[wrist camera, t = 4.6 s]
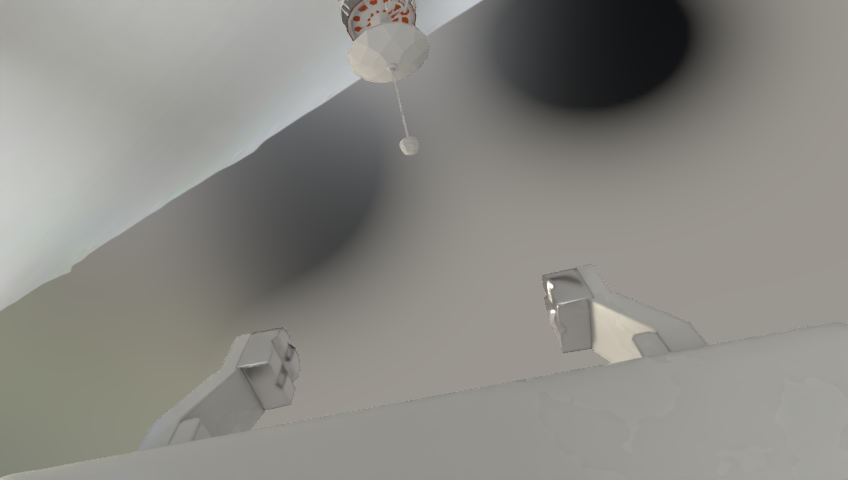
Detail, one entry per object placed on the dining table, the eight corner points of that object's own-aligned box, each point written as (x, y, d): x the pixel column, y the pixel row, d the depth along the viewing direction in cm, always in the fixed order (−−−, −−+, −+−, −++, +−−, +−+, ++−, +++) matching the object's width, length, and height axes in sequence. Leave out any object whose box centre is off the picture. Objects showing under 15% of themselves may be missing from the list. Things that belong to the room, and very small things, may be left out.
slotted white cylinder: (314, -12, 54) (349, 181, 46) (328, -119, 44) (375, 105, 35) (397, -3, 57) (442, 178, 49) (427, -100, 47) (491, 108, 39)
